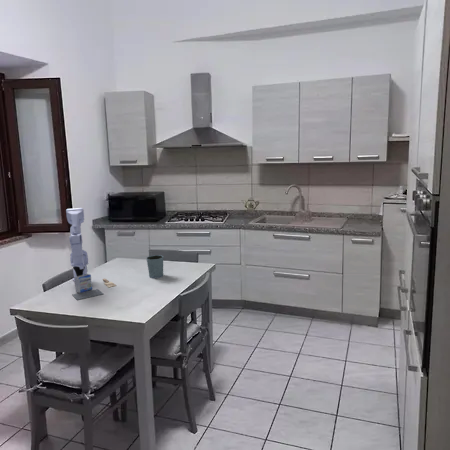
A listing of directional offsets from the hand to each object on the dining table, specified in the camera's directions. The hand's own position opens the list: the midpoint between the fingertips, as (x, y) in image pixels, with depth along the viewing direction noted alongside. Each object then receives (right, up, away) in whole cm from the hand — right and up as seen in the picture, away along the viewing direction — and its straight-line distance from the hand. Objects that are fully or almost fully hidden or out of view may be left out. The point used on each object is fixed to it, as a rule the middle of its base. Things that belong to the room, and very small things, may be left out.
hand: (79, 278), depth 228 cm
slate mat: (+8, -7, -11) cm, 15 cm away
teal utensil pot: (+40, -1, +18) cm, 44 cm away
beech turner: (+14, -4, +7) cm, 16 cm away
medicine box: (+4, -6, -5) cm, 9 cm away
